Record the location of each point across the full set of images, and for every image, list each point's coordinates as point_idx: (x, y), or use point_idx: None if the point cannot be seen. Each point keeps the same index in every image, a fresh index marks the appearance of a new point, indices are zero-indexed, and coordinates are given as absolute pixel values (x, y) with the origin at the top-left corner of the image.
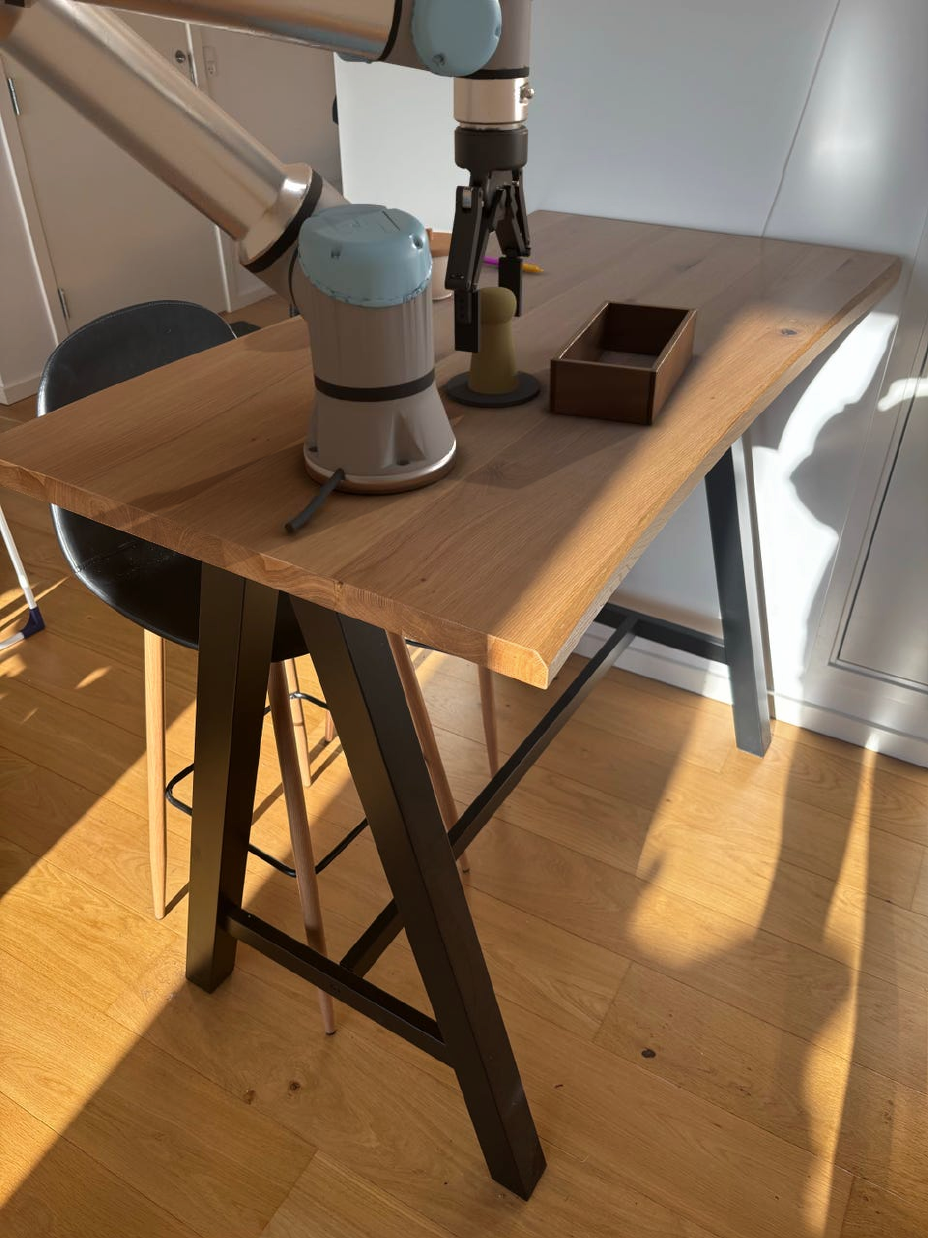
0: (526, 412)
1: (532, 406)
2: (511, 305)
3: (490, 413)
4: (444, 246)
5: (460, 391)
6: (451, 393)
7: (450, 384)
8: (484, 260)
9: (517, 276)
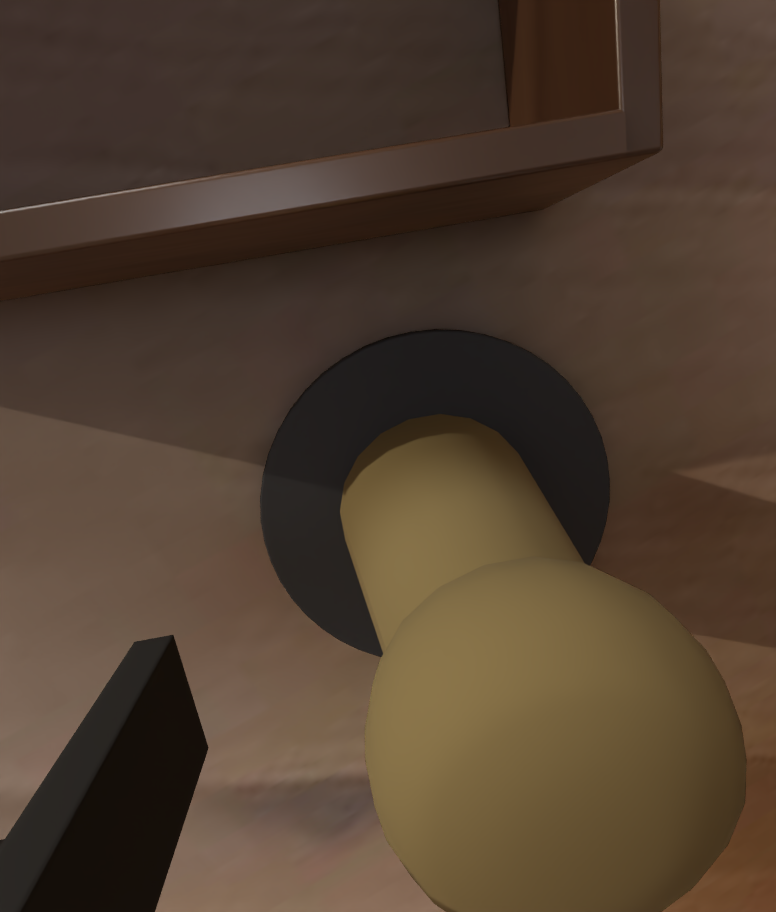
0: (578, 289)
1: (517, 296)
2: (592, 596)
3: (634, 401)
4: None
5: None
6: None
7: None
8: None
9: (51, 898)
